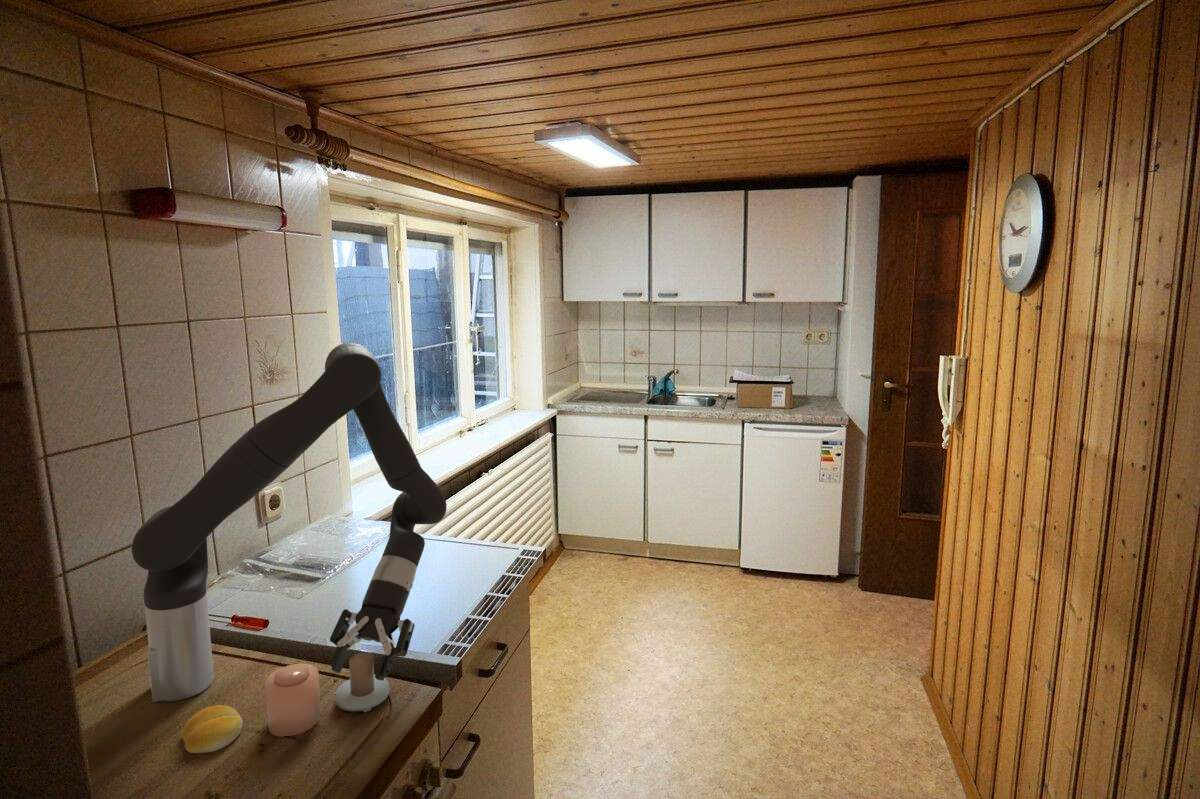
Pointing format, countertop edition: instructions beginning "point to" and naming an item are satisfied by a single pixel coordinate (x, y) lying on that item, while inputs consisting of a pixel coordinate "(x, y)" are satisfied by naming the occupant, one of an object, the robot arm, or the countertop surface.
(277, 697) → the canister
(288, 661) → the countertop surface
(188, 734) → the bread roll
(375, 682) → the lid
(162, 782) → the countertop surface
